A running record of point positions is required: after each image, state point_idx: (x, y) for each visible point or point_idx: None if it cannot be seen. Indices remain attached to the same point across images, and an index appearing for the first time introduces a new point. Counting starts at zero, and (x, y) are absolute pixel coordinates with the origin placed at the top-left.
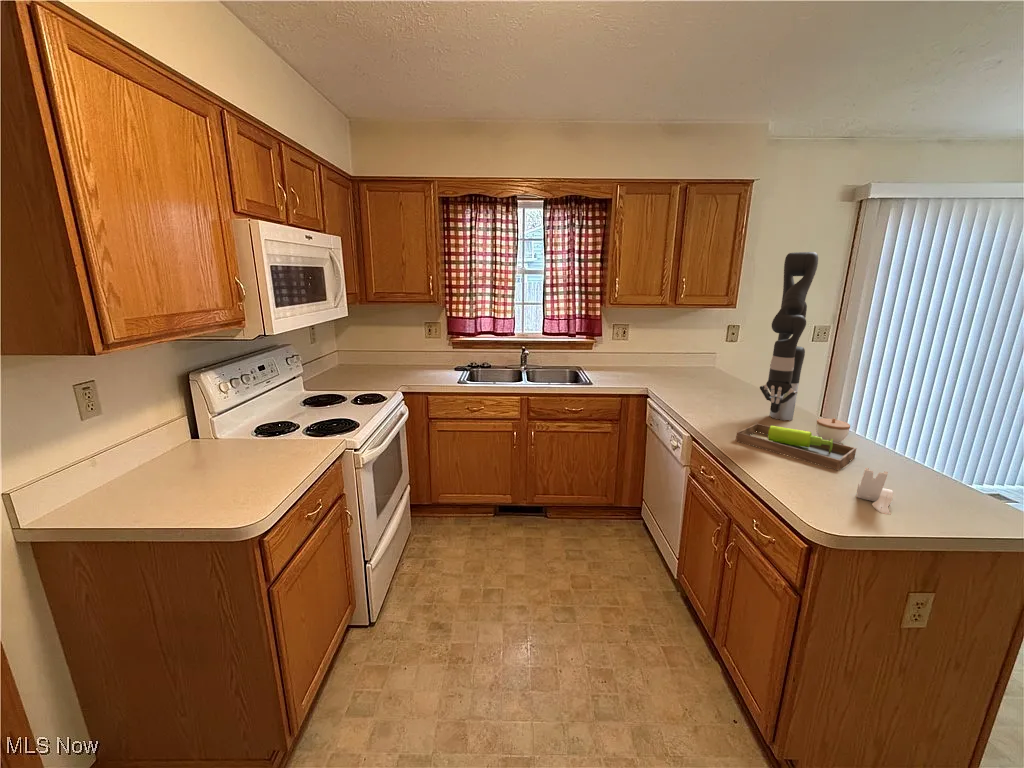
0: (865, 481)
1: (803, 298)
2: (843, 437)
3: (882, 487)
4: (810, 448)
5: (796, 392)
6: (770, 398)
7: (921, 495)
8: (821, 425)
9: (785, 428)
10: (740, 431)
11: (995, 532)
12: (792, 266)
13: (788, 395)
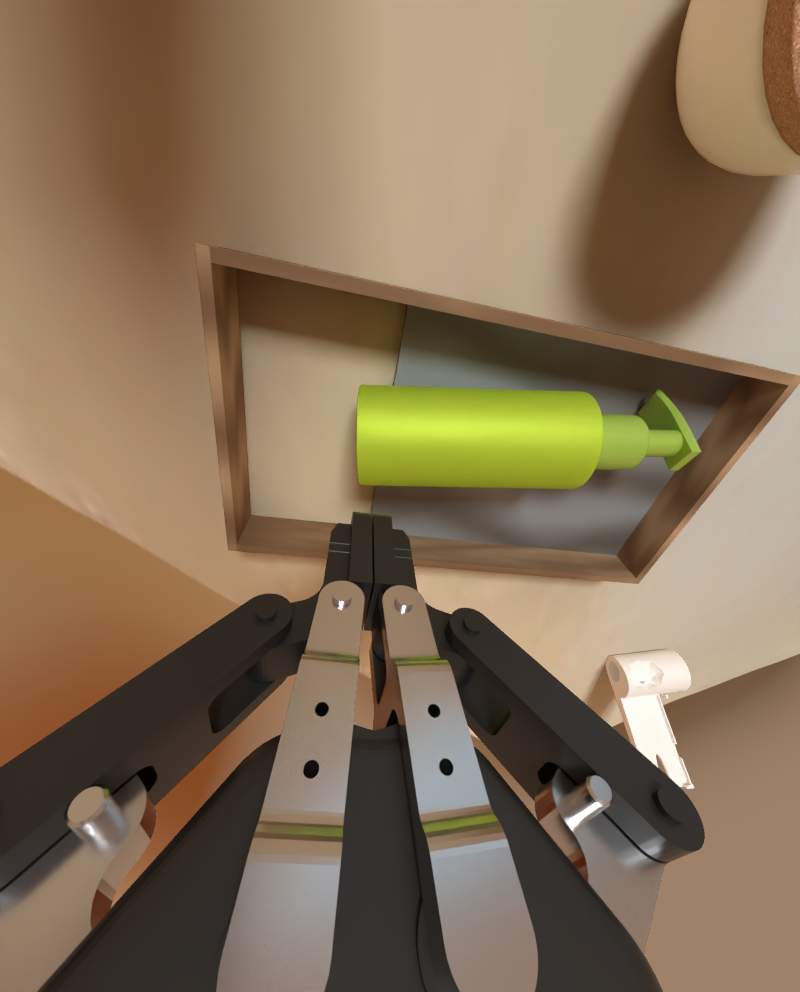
0: (636, 739)
1: None
2: None
3: (664, 725)
4: None
5: (681, 840)
6: (293, 667)
7: (778, 578)
8: (773, 118)
9: (451, 467)
10: (232, 526)
11: None
12: None
13: (531, 790)
